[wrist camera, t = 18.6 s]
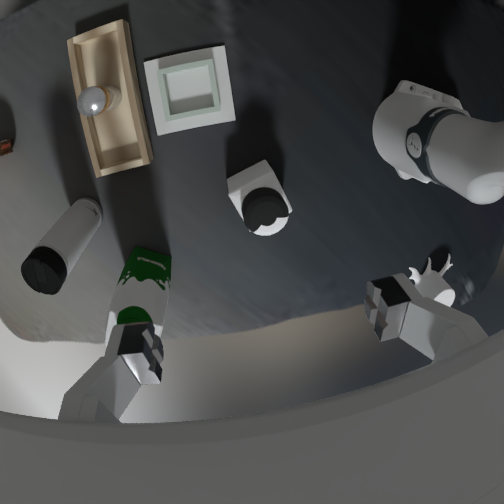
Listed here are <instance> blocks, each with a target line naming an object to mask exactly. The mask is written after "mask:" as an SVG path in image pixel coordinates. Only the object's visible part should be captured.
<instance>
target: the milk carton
mask: <svg viewBox="0 0 504 504" xmlns="http://www.w3.org/2000/svg"><path fill="white" fill-rule="evenodd" d="M171 259H172V257H169V256H166V255H163V254H160V253H157V252H154V251H150V250H147V249H144V248H141V247H138V246H136V247H135V248H134V250H133V252H132V253H131V255H130V257H129V259H128V260H127V262H126V264H125V266H124V269H123V271H122V273H121V276H120V279H119V281H118V284H117V287H116V289H115V292H114V295H113V298H112V301H111V305H110V310H109V311H108V314H107V319H106V326H105V335H106V338H105V346H107V345H108V341H109V338H110V334H111V331H112V328H113V326H114V325H119V324H127V323H137V322H146V321H150V322H152V323H153V325H154V327H155V333H154V334H156V335H158V336H159V337H160V336H161V333H162V330H163V327H162V326H163V323H164V319H165V315H166V309H167V302H168V295H169V289H170V281H171Z"/></svg>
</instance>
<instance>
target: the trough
mask: <svg viewBox="0 0 504 504" xmlns="http://www.w3.org/2000/svg"><path fill="white" fill-rule="evenodd" d="M67 44H68V51H69V58H70V65H71V71H72V77H73V82H74V88H75V93H76V98H77V99H78V96H79V95H80V93H81V92H82V91H83V90H84V89H86V88H88V87H92V86H109V85H113V86H116V87H118V88H119V89H120V91H121V93H122V100H121V103H120V104H119V106H118V107H117V108H115V109H113V110H110V111H107V112H104V113H102V114H99V115H96V116H92V117H87V116H84V115H82V114H81V113H80V117H81V121H82V126H83V130H84V134H85V138H86V142H87V146H88V150H89V153H90V157H91V161H92V164H93V168H94V171H95V175H96V178H98V177H101V176H105V175H108V174H112V173H115V172H119V171H123V170H127V169H130V168H134V167H138V166H142V165H146V164H150V163H151V161H152V160H153V159H154V156H153V151H152V147H151V143H150V138H149V134H148V129H147V124H146V120H145V115H144V110H143V105H142V100H141V95H140V89H139V84H138V79H137V73H136V67H135V61H134V55H133V49H132V42H131V36H130V29H129V23H128V22H126V21H125V20H123V19H121V20H118V21H115V22H112V23H109V24H106V25H103V26H101V27H98V28H95V29H93V30H90V31H88V32H85V33H83V34H80V35H78V36H76V37H73V38H71V39H69V40H67Z"/></svg>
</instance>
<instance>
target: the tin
mask: <svg viewBox="0 0 504 504" xmlns="http://www.w3.org/2000/svg"><path fill="white" fill-rule="evenodd" d="M11 152H13V150H12V143H11V139H10V138H9V139H6V140H3V141H0V156H3V155H6V154H8V153H11Z"/></svg>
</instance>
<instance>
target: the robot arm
mask: <svg viewBox="0 0 504 504" xmlns="http://www.w3.org/2000/svg"><path fill="white" fill-rule="evenodd" d="M410 86H411V87H412V89H411V90H410ZM373 139H374V143H375V146H376V148H377V150H378V152H379V154H380V155H381V156H382V158H383V159H384V160H385V161H387V162H388V163H389V164H391V165H392V166H393V167H394V168H395V169H396V171H397V173H398V174H399V176H400V177H401V178H403V179H410V178H415V179H417V180H420V181H422V182H424V183H428V182H430V181H433V182H434V183H436V184H439V185H441V186H444V187H449V188H451V189H452V190H454V191H456V192H457V193H459V194H460V195H462V196H463V197H465V198H467V199H468V200H470V201H471V202H473V203H476V204H489V203H493V202H495V201H497V200H499V199H500V198H501V197H502V196H503V195H504V121H502V122H498V123H492V122H487V121H482V120H478V119H475V118H471V117H470V115H469V113H468V112H467V111H465V110H463V109H462V106H461V103H460V101H459V100H458V99H456V98H454V97H453V96H450V95H446V94H444V93H441V92H439V91H436V90H433V89H430V88H428V87H425V86H422V85H419V84H416V83H413V82H410V81H407V80H402V81H401V82H400V83H399V84H398V86H397V88H396V90H395V92H394V93H393V94H391V95H390V96H389V97H387V98H386V99H385V100H384V101H383V102H382V103H381V105H380V106H379V108H378V109H377V112H376V114H375V117H374V121H373ZM366 291H367V292H368V295H367V297H366V298H365V301H364V308H365V314H366V316H367V319H368V320H369V322H371V323H373V324H375V326H374V331H375V333H376V335H377V337H378V338H379V340H380V342H382V341H385V340H389V339H392V338H396V337H400V338H401V339H403V340H404V341H405V342H407V343H408V344H410V345H411V346H413V347H414V348H416V349H417V350H419V351H420V352H422V353H423V354H425V355H426V356H427V357H429V358H431V359H432V360H433V361H432V363H431V364H430V365H427V366H425V367H422V368H420V369H417V370H415V371H412V372H409V373H407V374H404V375H401V376H399V377H396V378H393V379H390V380H387V381H384V382H381V383H378V384H375V385H372V386H368V387H365V388H362V389H359V390H355V391H352V392H349V393H345V394H341V395H338V396H334V397H330V398H326V399H322V400H318V401H314V402H310V403H305V404H301V405H296V406H291V407H286V408H281V409H276V410H271V411H265V412H259V413H253V414H246V415H239V416H232V417H224V418H217V419H216V418H215V419H206V420H196V421H183V422H165V423H121V422H120V421H119V418H120V417H121V415H122V414H123V412H124V411H125V409H126V408H127V406H128V405H129V403H130V402H131V400H132V399H133V397H134V396H135V394H136V393H137V391H138V390H139V388H140V387H141V386H140V385H148V384H158V383H161V378H162V368H161V366H160V363H161V362H162V361H163V357H164V352H163V345H162V342H161V339H160V337H159V336H158V335H156V334H154V333H155V327H154V325H153V323H152V322H150V321H146V322H137V323H127V324H119V325H114V326H113V328H112V331H111V334H110V338H109V341H108V345H107V348H106V352H105V356H104V357H100V358H99V359H98V360H97V362H95V363H94V364H93V366H92V367H91V368H90V369H89V370H88V371H87V372H86V373H85V374H84V375H83V376H82V377H81V378H80V379H79V380H78V381H77V382H76V383H75V384H74V385H73V386H72V387H71V388H70V389H69V390H68V391H67V392H66V394H64V398H63V401H62V405H61V409H60V413H59V416H58V420H56V419H47V418H39V417H32V416H25V415H19V414H13V413H8V412H3V411H0V504H504V329H503V330H502V331H500V332H498V333H496V334H494V335H492V336H490V337H488V336H487V334H486V333H485V332H484V330H483V329H482V328H481V327H480V325H479V324H478V323H477V322H476V320H475V319H474V318H473V317H471V316H469V315H466V314H464V313H462V312H459V311H458V310H455V309H453V308H451V307H449V306H446V305H444V304H442V303H440V302H437V301H435V300H433V299H431V298H428V297H424V298H423V296H422V295H421V294H420V292H419V291H418V290H417V289H416V288H415V286H414V285H413V284H412V283H411V281H410V280H409V279H408V278H407V277H406V275H405V274H403V273H399V274H395V275H392V276H388V277H384V278H380V279H376V280H372V281H368V283H367V286H366Z"/></svg>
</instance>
